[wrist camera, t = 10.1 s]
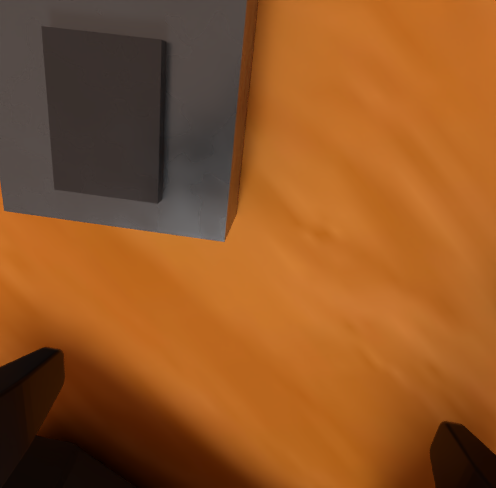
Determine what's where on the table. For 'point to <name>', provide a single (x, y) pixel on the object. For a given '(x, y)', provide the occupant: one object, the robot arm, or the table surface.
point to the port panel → (189, 119)
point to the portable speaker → (61, 468)
